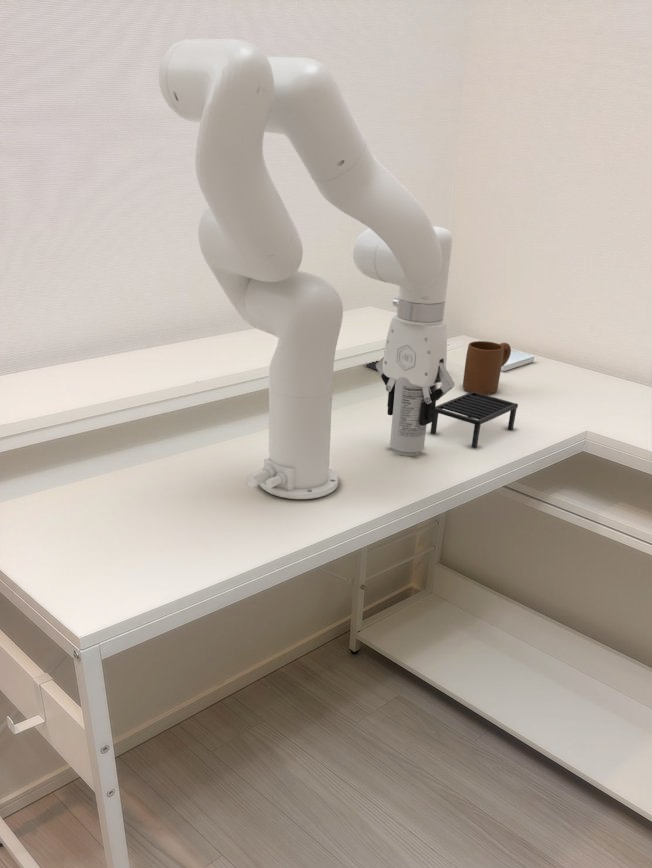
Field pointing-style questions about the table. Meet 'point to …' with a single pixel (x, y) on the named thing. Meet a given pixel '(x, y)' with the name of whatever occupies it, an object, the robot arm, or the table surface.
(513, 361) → the hard drive
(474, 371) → the mug
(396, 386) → the energy drink can
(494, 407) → the rack
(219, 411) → the table surface
